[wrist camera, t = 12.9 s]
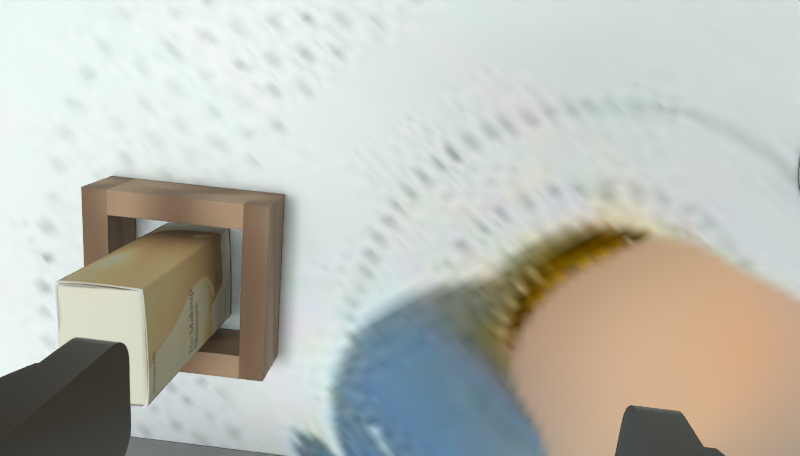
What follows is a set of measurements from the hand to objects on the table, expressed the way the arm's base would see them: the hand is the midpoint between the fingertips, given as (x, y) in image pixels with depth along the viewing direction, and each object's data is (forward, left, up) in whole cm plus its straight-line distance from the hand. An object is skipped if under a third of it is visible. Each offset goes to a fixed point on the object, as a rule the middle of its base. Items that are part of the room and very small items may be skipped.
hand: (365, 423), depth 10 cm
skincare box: (+14, +9, -30) cm, 34 cm away
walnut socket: (+14, +9, -30) cm, 34 cm away
